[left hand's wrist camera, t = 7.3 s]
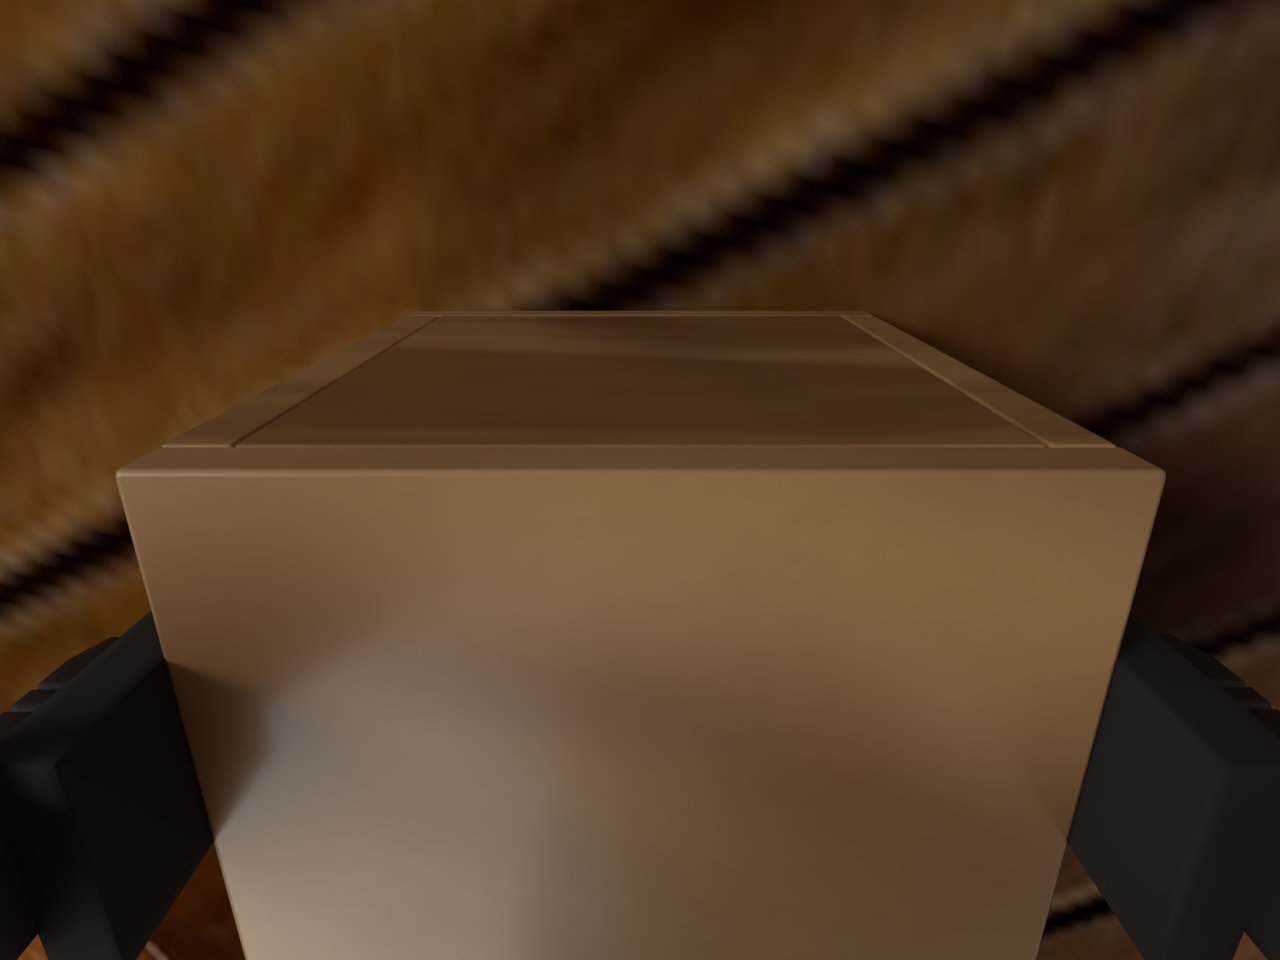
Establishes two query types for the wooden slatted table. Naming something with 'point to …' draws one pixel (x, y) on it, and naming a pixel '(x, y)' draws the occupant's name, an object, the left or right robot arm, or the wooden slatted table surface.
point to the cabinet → (640, 640)
